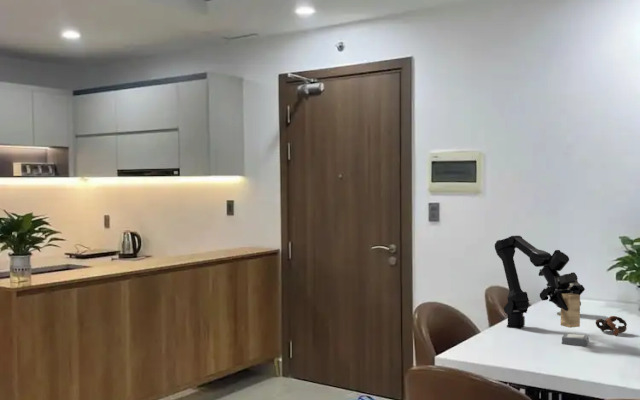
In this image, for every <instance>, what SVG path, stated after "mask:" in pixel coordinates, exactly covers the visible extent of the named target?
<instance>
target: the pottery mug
mask: <svg viewBox="0 0 640 400" xmlns="http://www.w3.org/2000/svg"><path fill="white" fill-rule="evenodd" d="M616 321H618V323H620V324H623V325H618V326H617V325H616V324H615V323H614V322H616ZM600 323H601V325H600ZM595 325H596V327H597V328H598V329H599V330H600V331H601V332H605V331H611V332H612V336H618V335H620V334H622V333H625V332H626V331H627V327H628V326H627V325H628V324H627V321H626V320H624V319H623V318H622V317H620V316H616V315H611V316H609V317H608V318H607V319H603V318H597V319H596V321H595ZM616 326H617V327H616Z"/></svg>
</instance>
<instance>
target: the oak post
mask: <svg viewBox="0 0 640 400" xmlns="http://www.w3.org/2000/svg"><path fill="white" fill-rule="evenodd" d="M562 298H563V300H564V302H565V303H566V305H567V307H568V311H566V310H564V309H562V308H560V311H561V315H560V326H563V327H567V328H569V329H570V328H578V327H579V328H580V327H581V306H580V302H581V295H578V294H573V293H564V294H562Z"/></svg>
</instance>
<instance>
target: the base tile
mask: <svg viewBox="0 0 640 400" xmlns="http://www.w3.org/2000/svg"><path fill="white" fill-rule="evenodd" d="M589 336H590V335H589V334H580V333H571V332H569V333H567V332H565V333H564V334H563V335H562V337H561V344H562V345H570V346H579V347H580V346H582V347H587V346H588V344H589V342H590V337H589Z"/></svg>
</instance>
